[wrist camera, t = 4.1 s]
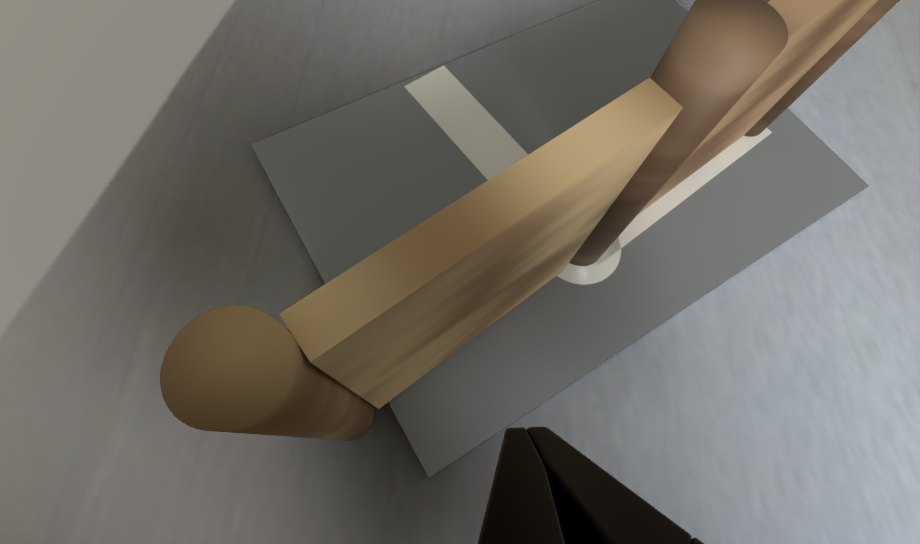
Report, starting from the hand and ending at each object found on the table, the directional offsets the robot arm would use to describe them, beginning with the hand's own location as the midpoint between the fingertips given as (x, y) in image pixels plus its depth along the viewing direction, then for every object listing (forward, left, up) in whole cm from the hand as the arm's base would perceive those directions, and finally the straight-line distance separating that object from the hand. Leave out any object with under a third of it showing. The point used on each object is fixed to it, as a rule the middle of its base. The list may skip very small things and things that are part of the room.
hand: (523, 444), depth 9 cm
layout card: (+8, -10, -8) cm, 15 cm away
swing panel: (+4, -1, -7) cm, 8 cm away
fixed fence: (+5, -13, -8) cm, 16 cm away
